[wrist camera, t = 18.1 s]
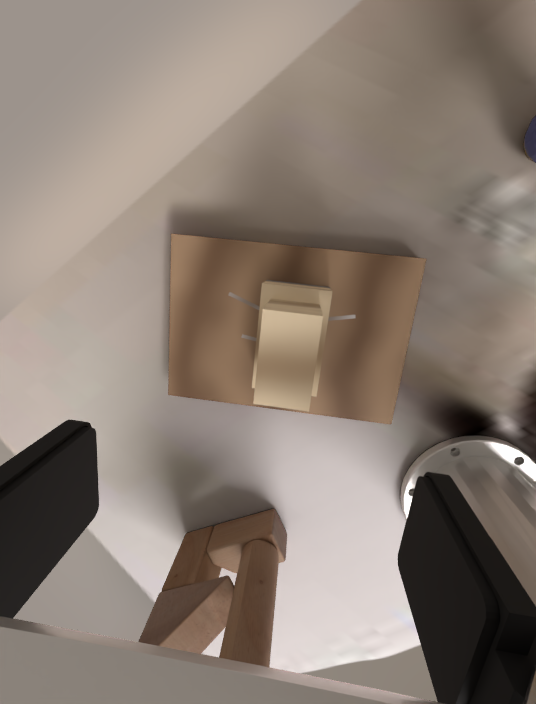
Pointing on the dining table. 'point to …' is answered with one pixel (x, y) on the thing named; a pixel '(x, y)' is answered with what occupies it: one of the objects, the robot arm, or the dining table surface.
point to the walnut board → (243, 312)
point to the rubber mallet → (531, 141)
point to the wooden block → (222, 590)
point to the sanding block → (290, 343)
